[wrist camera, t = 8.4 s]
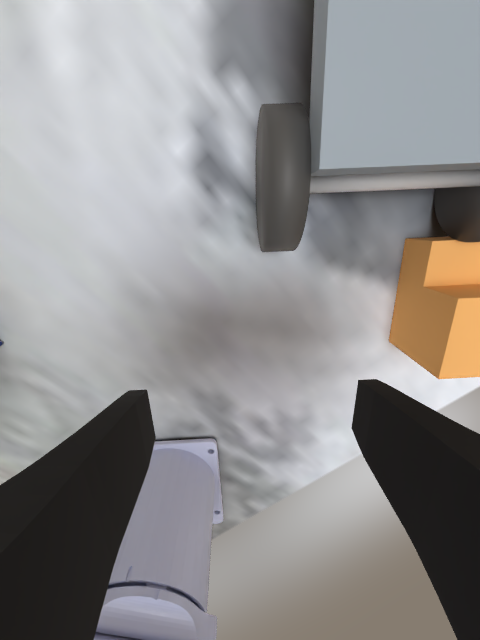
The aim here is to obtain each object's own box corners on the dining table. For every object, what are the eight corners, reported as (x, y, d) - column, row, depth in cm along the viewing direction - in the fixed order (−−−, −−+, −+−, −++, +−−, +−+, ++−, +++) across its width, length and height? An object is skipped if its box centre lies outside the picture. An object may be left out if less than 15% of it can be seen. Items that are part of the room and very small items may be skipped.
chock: (442, 337, 19) (511, 374, 14) (387, 340, 19) (438, 379, 14) (467, 235, 17) (559, 240, 12) (404, 238, 17) (471, 244, 12)
